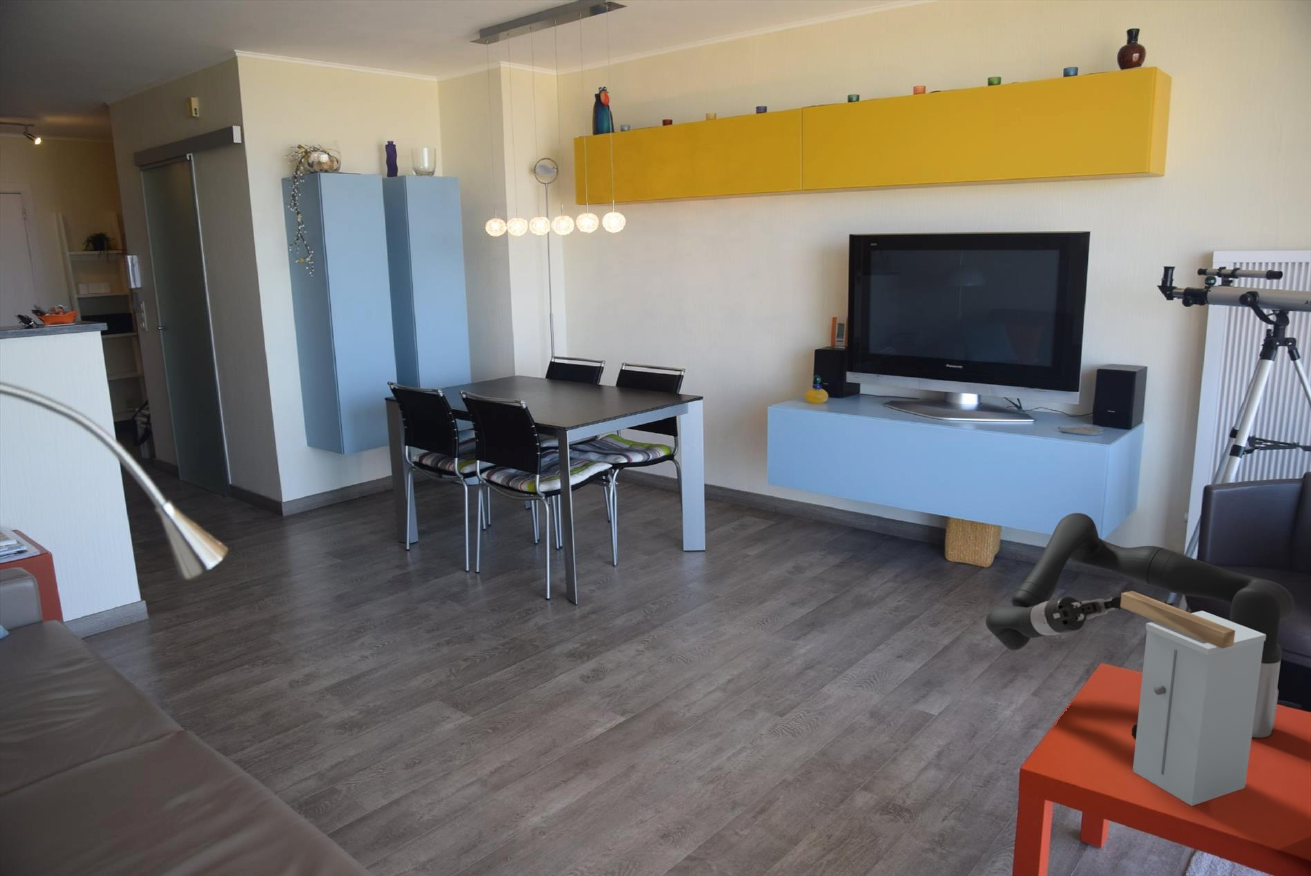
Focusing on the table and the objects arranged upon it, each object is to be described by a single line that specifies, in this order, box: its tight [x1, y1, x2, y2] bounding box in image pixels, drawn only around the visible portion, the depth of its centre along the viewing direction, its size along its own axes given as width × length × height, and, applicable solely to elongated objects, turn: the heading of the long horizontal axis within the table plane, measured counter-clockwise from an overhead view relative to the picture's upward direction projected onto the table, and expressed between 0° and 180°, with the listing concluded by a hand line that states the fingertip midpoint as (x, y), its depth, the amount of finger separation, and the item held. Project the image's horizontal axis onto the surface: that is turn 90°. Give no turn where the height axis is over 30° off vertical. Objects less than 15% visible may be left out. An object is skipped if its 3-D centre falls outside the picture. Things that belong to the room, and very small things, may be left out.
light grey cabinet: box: [1132, 610, 1266, 807], centre depth 179 cm, size 17×13×32 cm
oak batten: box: [1120, 590, 1235, 648], centre depth 177 cm, size 3×22×3 cm, turn 23°
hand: (1113, 603), depth 189 cm, fingers open, 8 cm apart
